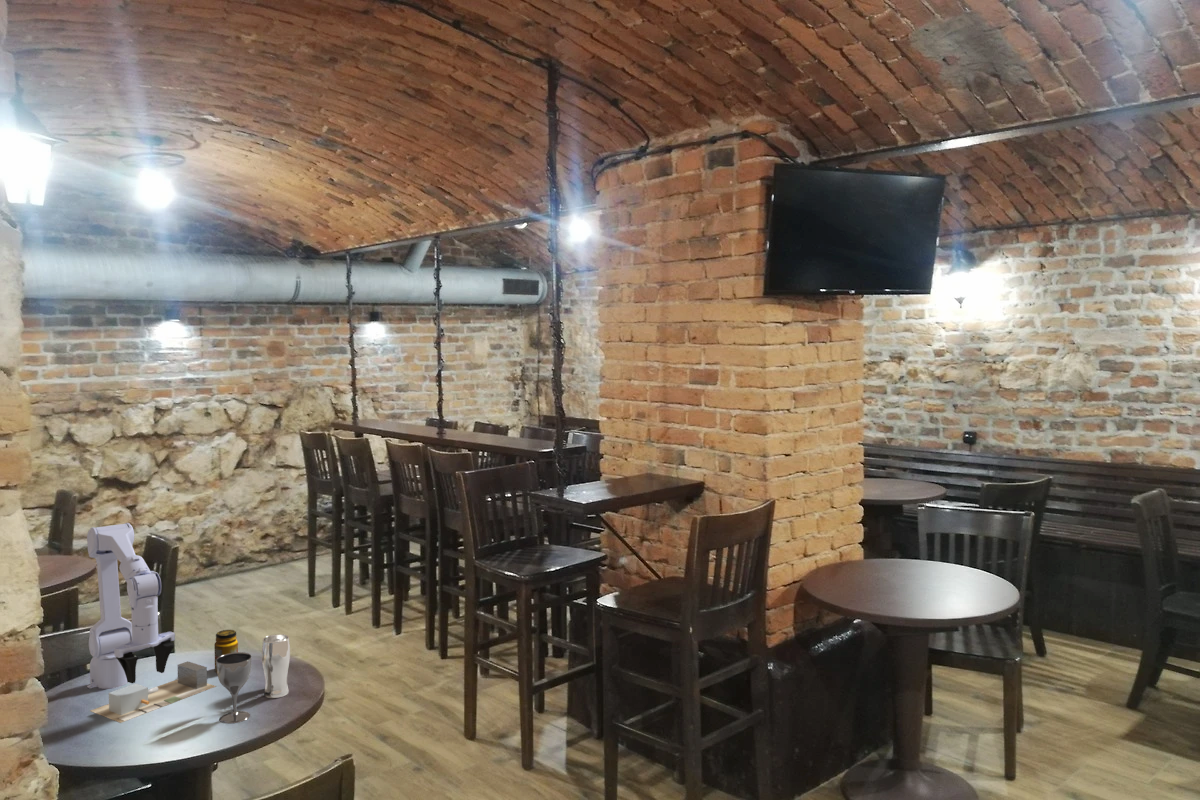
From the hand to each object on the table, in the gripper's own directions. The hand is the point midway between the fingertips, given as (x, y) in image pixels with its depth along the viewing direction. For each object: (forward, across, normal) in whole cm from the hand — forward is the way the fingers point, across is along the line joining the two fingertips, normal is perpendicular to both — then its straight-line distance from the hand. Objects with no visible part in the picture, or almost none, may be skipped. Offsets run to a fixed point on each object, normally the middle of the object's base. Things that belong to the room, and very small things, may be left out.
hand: (146, 676), depth 214 cm
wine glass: (+10, +11, -19) cm, 24 cm away
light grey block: (+9, +1, +5) cm, 10 cm away
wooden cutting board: (+10, +6, +6) cm, 13 cm away
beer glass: (+10, +26, -16) cm, 32 cm away
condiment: (+10, +27, +7) cm, 30 cm away
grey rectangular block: (+9, +16, +6) cm, 19 cm away
